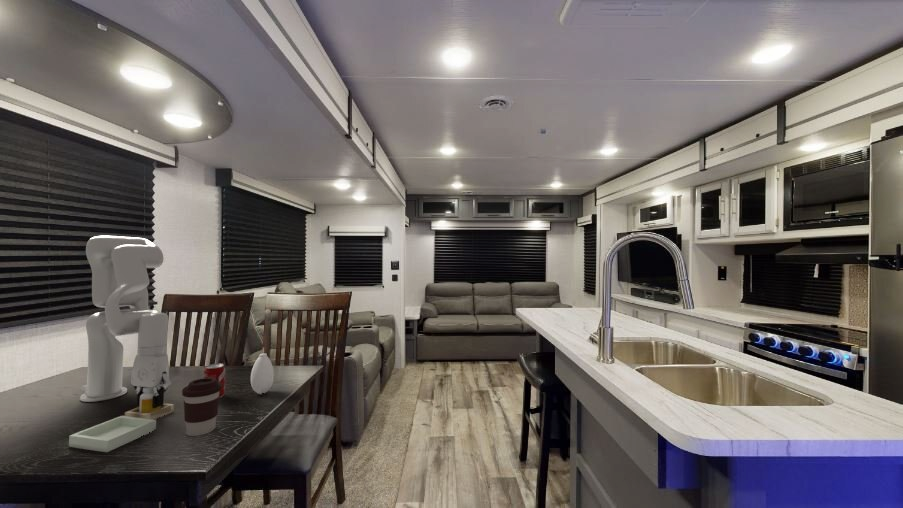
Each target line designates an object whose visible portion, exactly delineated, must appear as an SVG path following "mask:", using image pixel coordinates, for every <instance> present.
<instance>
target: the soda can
mask: <svg viewBox="0 0 903 508" xmlns="http://www.w3.org/2000/svg"><path fill="white" fill-rule="evenodd" d="M203 378H214V379H216V380H217V382H220V383H222V389H221V390H220V391H219V395H220V398H219V399H221V398H223V396H225V394H226V393H225V392H226V389H225V388H226V367H224V363H213V364H209V365H208V364H207V365H206V366H205V370H204V371H203Z"/></svg>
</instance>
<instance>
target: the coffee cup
mask: <svg viewBox="0 0 903 508" xmlns="http://www.w3.org/2000/svg"><path fill="white" fill-rule="evenodd" d="M221 389H222V383H220V382H217V380H216V379H214V378H204V377H203V378H198V379H194V380H192V381H190V382H189V383H188V385H187V386H185V387H183V388H182V390H181V395H182V396H183V397H184V400H183V412H184V414H183V415H184V417H183V418H184V421H185V434H186V435H187V436H188V437H200V436H203V435H207V434H209V433H211V432H212V431H214V430H215V429H216V426H217V425H216V423H217V417H218V416H217V415H218V413H219V406H220V405H219V403H220V399H221V398H220V395H219V391H220V390H221Z"/></svg>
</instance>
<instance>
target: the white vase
mask: <svg viewBox="0 0 903 508" xmlns="http://www.w3.org/2000/svg"><path fill="white" fill-rule="evenodd" d="M267 354H268V353H265V348H264V347H262V353H260V354H259V356H258V357H257V359H256V360H255V362H254V364H253V367H252V369H251V372H250V385H251V388H252V390H253V391H254V392H255V393H256V394H258V395H263V394H262V393H264V394H265V393H267V392H268V391H270V389H271V387H272V385H273V383H274V377H275V372H274V367H273V363H272V361H271V358H270V357H268V355H267Z"/></svg>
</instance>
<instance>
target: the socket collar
mask: <svg viewBox="0 0 903 508" xmlns="http://www.w3.org/2000/svg"><path fill="white" fill-rule="evenodd" d="M174 406H175V404H174V403H173V404H172V403H164V402H163V405H162V406H160V409H158V410H155V411H153V412H150V413H140V412H139V406H137V407H135V408H132V409H129V410H128V411H125V412H124V416H128V417H136V418H144V419H152V420H154V419H155V420H158V419H159V417H160V418H162V417H165V416H167V415H169V414H171V413H174V409H175V407H174ZM164 415H165V416H164ZM157 418H158V419H157Z"/></svg>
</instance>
